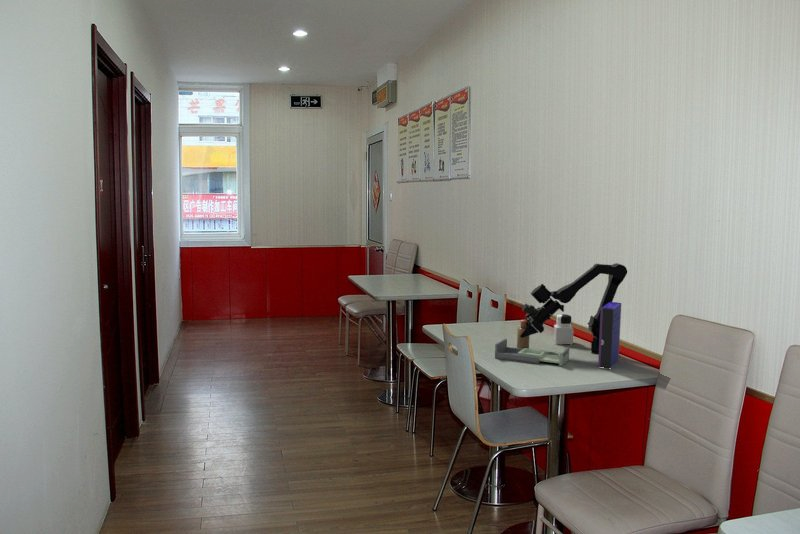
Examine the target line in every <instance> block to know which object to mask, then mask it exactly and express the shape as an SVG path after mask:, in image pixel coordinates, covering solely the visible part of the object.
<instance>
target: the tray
mask: <svg viewBox="0 0 800 534" xmlns="http://www.w3.org/2000/svg"><path fill="white" fill-rule="evenodd" d="M546 352H547V350H541V349H534V348H529V349H527V348H524V349H523V350H521V351H520V352H518V355H524V356H532V357H539V361H542V362H545V363H554V364H558V365H559V367H560V366H561V367H562V366H563V365H564V364H566V363H567V362H568V361H570V347H569V346H567V347H565V348H564V349H562V350H561V351H560V352H559V355H556V354H550V353H549V354H548V353H547V354H546Z"/></svg>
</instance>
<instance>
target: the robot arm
mask: <svg viewBox="0 0 800 534" xmlns="http://www.w3.org/2000/svg"><path fill="white" fill-rule="evenodd" d="M600 274H602V275H608V276H607V277H608V279H607V280H608V281H607V286H606V288H605V290H604V293H603V296H602V298H601V301H600V304H599V307H598V308H597V312H596V313H595V315H594V316H593V315H590V317H589V321H588V322H587V325H588V327H587V328H588V331H589V332H590V333H591V334H592V336H593V337H592V341H591V343H590V351H591V354H596V353H599V336H600V315H601V308H602V307H603V306H605V305H606V304H607V303H609V302H614V299H615V296H616V294H617V290H618V287H619V286H620V285H621V283H622V282H623V281H624V280H625V278H626V276H627V274H628V270H627V267H626V266H625V265H624V264H621V263H617V262H615V263H613V264H602V263H594V264H593V265H592V266H591V267H590V268H589V269H588V270H586V271H585V272H584V273H583V274H581V275H580V276H579V277H577V278H576V279H575V280H574V281H571V283H568V284H565V285H564V286H562V287H561V288H559V289H557V290H553V291H550V290H549V289H548V288H547V287H546V286H545V284H544V283H541V284H540V285H538V286H537V287H535V288H534V289H532V291H531V292H530V295H531V296H532V297H533V298H534V299H535V300H536V302H538V303H539V304H543V305H542V306H541V307H539V306H538V307H537V308H536V307H535V306H534V305H532V304H529V303H524V304H523V307H522V309H521V310H522V312H524V313H525V315H524V316H525V317H524V318H525V319H524V320H527V328H526V329H525V330H524V332H523V333H522V334H521V336H520V337H521V338H523V337H526V336H529V335H530V336H532V335H535V334H538V333H540V334H543V332H545V327H544V324H545V323H546V322H547V320H551V317H552V316H553V315H554V314H555V313H556V312H557V311H559V310H560V311H561V312H563V313H564V312H565V305H564V304H568V303H569V302H571V300H572V299H573V298H574V297H575V296H576V294H577V293H578V292H579V291H580V290H582V288H584V287H585V286H586V285H588V284H589V283H590V282H591V281H593V280H594V279H595V278H596V277H598V276H600ZM553 299H554V300H553ZM530 336H529V337H530Z"/></svg>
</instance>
